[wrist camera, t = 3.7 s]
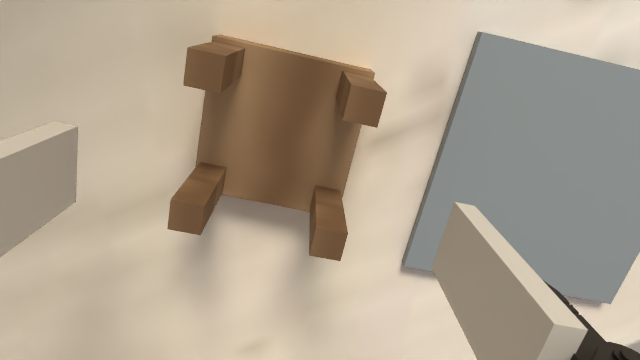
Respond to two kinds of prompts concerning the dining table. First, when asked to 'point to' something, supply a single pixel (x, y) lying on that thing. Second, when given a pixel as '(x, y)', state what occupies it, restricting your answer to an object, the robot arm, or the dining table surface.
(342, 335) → the dining table surface
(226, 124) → the stool
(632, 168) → the mat
